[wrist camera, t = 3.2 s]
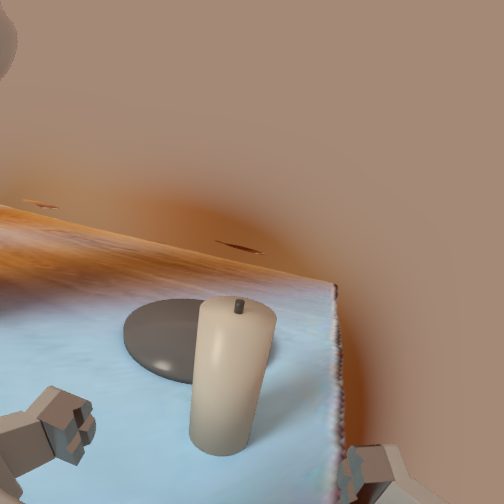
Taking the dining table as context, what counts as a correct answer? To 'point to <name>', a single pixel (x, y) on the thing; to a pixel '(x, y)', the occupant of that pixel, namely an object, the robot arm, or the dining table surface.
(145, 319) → the plate
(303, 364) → the dining table surface
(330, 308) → the dining table surface
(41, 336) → the dining table surface
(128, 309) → the dining table surface
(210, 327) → the candle
